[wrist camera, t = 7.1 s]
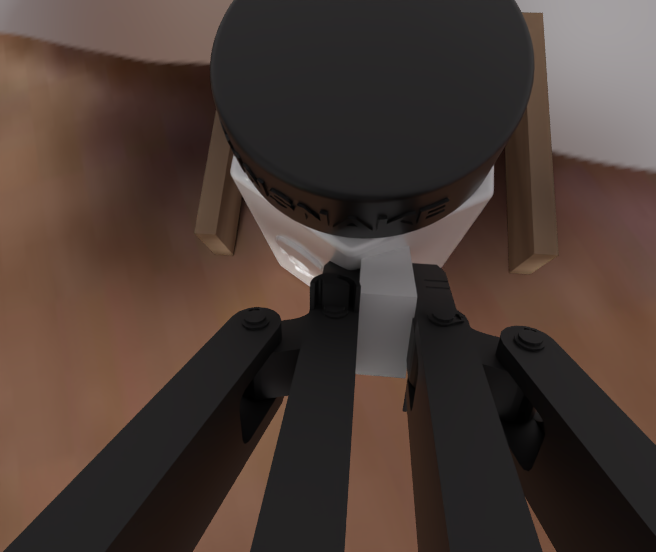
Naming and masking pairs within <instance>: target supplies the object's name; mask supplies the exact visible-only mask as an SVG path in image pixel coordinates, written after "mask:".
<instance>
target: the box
mask: <svg viewBox="0 0 656 552" xmlns="http://www.w3.org/2000/svg"><path fill="white" fill-rule="evenodd" d="M522 14H523V16H524V19H525V21H526V24H527V26H528V29H529V32H530V36H531V39H532V44H533V50H534V64H535V70H534V81H533V86H532V91H531V95H530V99H529V102H528V105H527V108H526V110H525V112H524V115H523V117H522V119H521V121H520V123H519V125H518V126H517V128H516V130H515V131H514V133H513V135H512V136H511V138H510V140H509V141H508V143H507V144H506V146H505V161H506V192H507V223H508V254H509V273H516V274H531V273H533V272H534V271H536V270H537V269H539V268H540V267H542V266H543V265H545V264H546V263H548V262H549V261H551V260H552V259H554V258H555V257H557V256H558V255H559V254H558V239H557V223H556V208H555V193H554V177H553V162H552V147H551V134H550V117H549V102H548V86H547V72H546V57H545V40H544V25H543V13H523V12H522ZM232 159H233V152H232V150H231V148H230V146H229V144H228V142H227V139H226V137H225V134H224V131H223V129H222V126H221V123H220V120H219V116H218V112H217V110H216V113H215V119H214V124H213V130H212V135H211V141H210V147H209V152H208V158H207V163H206V169H205V175H204V180H203V186H202V191H201V197H200V203H199V208H198V214H197V219H196V225H195V230H194V234H195V235H196V236H197V237H198V238H199V239H200V240H201V241H202V242H203V243H204V244H205V245H206V246H207V247H208V248H209V249H210V250H211V251H212V252H213V253H214V254H218V255H233V254H234V247H235V241H236V234H237V227H238V221H239V214H240V207H241V201H242V195H241V193H240V191H239V189H238V188H237V186H236V184H235V182H234V180H233V178H232V177H231V173H230V169H231V164H232Z"/></svg>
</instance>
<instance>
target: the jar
mask: <svg viewBox="0 0 656 552" xmlns="http://www.w3.org/2000/svg"><path fill="white" fill-rule="evenodd" d="M534 70H535V64H534V50H533V44H532V39H531V36H530V32H529V29H528V26H527V24H526V21H525V19H524V16H523V14H522V12H521V10H520V9H519V7H518V5H517V3H516V2H515V0H234V1H233V2H232V4H231V5H230V7H229V8H228V10H227V12H226V14H225V15H224V17H223V19H222V21H221V24H220V26H219V28H218V31H217V34H216V37H215V40H214V43H213V48H212V53H211V61H210V82H211V89H212V95H213V100H214V103H215V107H216V110H217V112H218V116H219V120H220V123H221V126H222V129H223V131H224V134H225V137H226V139H227V142H228V144H229V146H230V148H231V150H232V152H233V159H232V164H231V169H230V173H231V177H232V178H233V180H234V182H235V184H236V186H237V188H238V189H239V191H240V193H241V195H242V197H243V198H244V200H245V202H246V204H247V206H248V208H249V209H250V211H251V213H252V215H253V217H254V219H255V220H256V222H257V224H258V226H259V228H260V230H261V231H262V233H263V235H264V237H265V239H266V241H267V242H268V244H269V246H270V248H271V250H272V252H273V253H274V255H275V257H276V259H277V261H278V263H279V264H280V265H281V266H282V267H283V268H285V269H286V270H287V271H289V272H290V273H292V274H293V275H294V276H296V277H297V278H299V279H300V280H301V281H303V282H304V283H306V284H307V285H308V286H310V282H311V281H312V279H313V278H314V277H316V276H318V275H320V274H322V273H323V268H324V265H325V264H326V263H328V262H329V261H331V262H333V263H335V264H337V265H339V266H341V267H343V268H345V269H347V270H357V269H360V268H361V259H363V258H367V257H371V256H374V255H378V254H382V253H385V252H389V251H393V250H397V249H400V248H404V247H408V246H409V247H410V254H411V260H412V263H420V264H435V265H438V266H439V267H440V268H442V267H443V265H444V264H445V262H446V261H447V260H448V258H449V257H450V255H451V254H452V253H453V251H454V250H455V248H456V247H457V245H458V244H459V243H460V241H461V240H462V238H463V237H464V236H465V234H466V233H467V231H468V230H469V229H470V227H471V226H472V224H473V223H474V221H475V220H476V219H477V217H478V216H479V214H480V213H481V212H482V210H483V209H484V207H485V206H486V205H487V203H488V202H489V200H490V199H491V197H492V196H493V193H494V164H495V162H496V161H497V159H498V157H499V156H500V154H501V152H502V151H503V149H504V148H505V146H506V144H507V143H508V141H509V140H510V138H511V136H512V135H513V133H514V131H515V130H516V128H517V126H518V125H519V123H520V121H521V119H522V117H523V115H524V112H525V110H526V108H527V105H528V102H529V99H530V95H531V91H532V86H533V81H534Z"/></svg>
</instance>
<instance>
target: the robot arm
mask: <svg viewBox="0 0 656 552" xmlns="http://www.w3.org/2000/svg"><path fill="white" fill-rule="evenodd" d="M406 369H407V372H408V379H407V386H406V392H405V399H404V405H403V411H404V412H407V415H408V427H409V440H410V453H411V466H412V478H413V491H414V504H415V516H416V529H417V542H418V552H542V549H541V545H540V542H539V539H538V536H537V533H536V530H535V527H534V524H533V521H532V517H531V514H530V511H529V508H528V505H527V502H526V499H527V501H528V503H529V504H530V506H531V508H532V510H533V511H534V513H535V515H536V517H537V518H538V520H539V522H540V524H541V525H542V527H543V529H544V531H545V532H546V534H547V536H548V537H549V539H550V541H551V543H552V544H553V546H554V548H555V550H556V551H557V552H656V445H655V444H654V443H653V442H652V441H651V440H650V439H649V438H648V437H647V436H646V435H645V434H644V433H643V432H642V431H641V429H640V428H639V427H638V426H637V425H636V424H635V423H634V422H633V421H632V420H631V419H630V418H629V417H628V416H627V415H626V414H625V413H624V412H623V411H622V410H621V409H620V408H619V407H618V406H617V405H616V404H615V403H614V402H613V401H612V400H611V398H610V397H609V396H608V395H607V394H606V393H605V392H604V391H603V390H602V389H601V388H600V387H599V386H598V385H597V384H596V383H595V382H594V381H593V380H592V379H591V378H590V377H589V376H588V375H587V374H586V373H585V372H584V371H583V370H582V369H581V367H580V366H579V365H578V364H577V363H576V362H575V361H574V360H573V359H572V358H571V357H570V356H569V355H568V354H567V353H566V352H565V351H564V350H563V349H562V348H561V347H560V346H559V345H558V344H557V343H556V342H555V341H554V340H553V339H552V338H551V337H549V336H548V335H547V334H545V333H543V332H541V331H539V330H537V329H534V328H530V327H526V326H511V327H507V328H505V329H504V330H503V331H501V335H500V338H499V337H496V336H492V335H488V334H485V333H482V332H479V331H476V330H474V329H472V328H470V325H469V322H468V320H467V318H466V317H465V315H463V314H462V313H460V312H459V311H458V310H456V307H455V303H454V300H453V297H452V293H451V290H450V286H449V283H448V280H447V276H446V273H445V272H444V271H443V270H442V269H441V268H440V267H439V266H438V265H435V264H420V263H412V260H411V254H410V247H409V246H408V247H404V248H400V249H397V250H393V251H389V252H385V253H382V254H378V255H374V256H371V257H367V258H363V259H361V268H360V269H357V270H347V269H345V268H343V267H341V266H339V265H337V264H335V263H333V262H331V261H329V262H328V263H326V264H325V265H324V268H323V273H322V274H320V275H318V276H316V277H314V278H313V279H312V281H311V282H310V311H309V313H308V314H306V315H305V316H302V317H300V318H296V319H291V320H283V321H281V318H280V315H279V314H277V313H276V312H275V311H273V310H271V309H268V308H261V307H254V308H247V309H245V310H242V311H239V312H238V313H236V314H235V315H233V316H232V317H231V318H230V319H229V320H228V321H227V322H226V323H225V324H224V325H223V326H222V328H221V329H220V330H219V331H218V332H217V333H216V334H215V335H214V336H213V337H212V338H211V339H210V340H209V341H208V342H207V343H206V344H205V345H204V346H203V347H202V348H201V349H200V350H199V351H198V352H197V353H196V354H195V355H194V356H193V357H192V358H191V359H190V360H189V361H188V362H187V363H186V364H185V365H184V367H183V368H182V369H181V370H180V371H179V372H178V373H177V374H176V375H175V376H174V377H173V378H172V379H171V380H170V381H169V382H168V383H167V384H166V385H165V386H164V387H163V388H162V389H161V390H160V391H159V392H158V393H157V394H156V395H155V396H154V397H153V398H152V399H151V400H150V401H149V402H148V403H147V404H146V406H145V407H144V408H143V409H142V410H141V411H140V412H139V413H138V414H137V415H136V416H135V417H134V418H133V419H132V420H131V421H130V422H129V423H128V424H127V425H126V426H125V427H124V428H123V429H122V430H121V431H120V432H119V433H118V434H117V435H116V436H115V437H114V438H113V439H112V440H111V441H110V442H109V443H108V445H107V446H106V447H105V448H104V449H103V450H102V451H101V452H100V453H99V454H98V455H97V456H96V457H95V458H94V459H93V460H92V461H91V462H90V463H89V464H88V465H87V466H86V467H85V468H84V469H83V470H82V471H81V472H80V473H79V474H78V475H77V476H76V477H75V478H74V479H73V480H72V481H71V482H70V484H69V485H68V486H67V487H66V488H65V489H64V490H63V491H62V492H61V493H60V494H59V495H58V496H57V497H56V498H55V499H54V500H53V501H52V502H51V503H50V504H49V505H48V506H47V507H46V508H45V509H44V510H43V511H42V512H41V513H40V514H39V515H38V516H37V517H36V518H35V519H34V520H33V521H32V523H31V524H30V525H29V526H28V527H27V528H26V529H25V530H24V531H23V532H22V533H21V534H20V535H19V536H18V537H17V538H16V539H15V540H14V541H13V542H12V543H11V544H10V545H9V546H8V547H7V548H6V549H5V550H4V551H3V552H193V550H194V549H195V547H196V545H197V544H198V542H199V540H200V539H201V537H202V535H203V534H204V532H205V530H206V529H207V527H208V525H209V524H210V522H211V520H212V519H213V517H214V515H215V514H216V512H217V510H218V509H219V507H220V505H221V504H222V502H223V500H224V499H225V497H226V495H227V494H228V492H229V490H230V489H231V487H232V485H233V484H234V482H235V480H236V479H237V477H238V475H239V474H240V472H241V470H242V469H243V467H244V465H245V464H246V462H247V460H248V459H249V457H250V455H251V454H252V452H253V450H254V449H255V447H256V445H257V444H258V442H259V440H260V439H261V437H262V435H263V434H264V432H265V430H266V429H267V427H268V425H269V424H270V422H271V420H272V419H273V417H274V415H275V414H276V412H277V410H278V409H279V407H280V405H281V404H282V401H283V398H284V396H288V395H289V396H288V400H287V404H286V408H285V412H284V416H283V421H282V425H281V429H280V433H279V437H278V441H277V445H276V449H275V453H274V457H273V461H272V465H271V469H270V473H269V477H268V481H267V486H266V490H265V494H264V498H263V502H262V506H261V510H260V514H259V518H258V522H257V526H256V530H255V534H254V538H253V542H252V546H251V550H250V552H344V549H345V533H346V517H347V501H348V484H349V468H350V452H351V436H352V420H353V404H354V388H355V374H362V375H374V376H385V377H397V378H405V376H406ZM525 497H526V499H525Z"/></svg>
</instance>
